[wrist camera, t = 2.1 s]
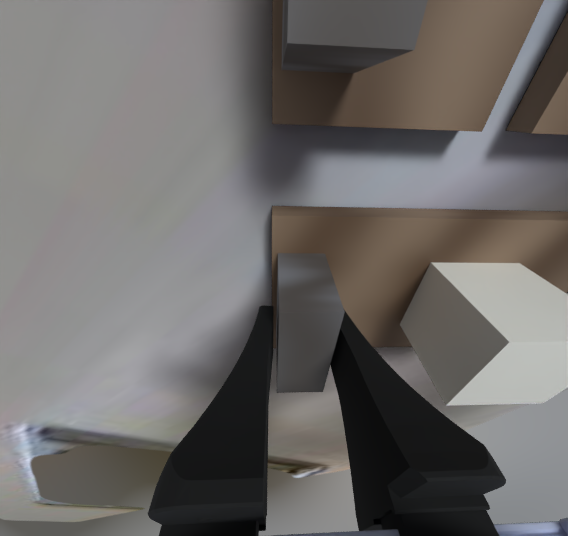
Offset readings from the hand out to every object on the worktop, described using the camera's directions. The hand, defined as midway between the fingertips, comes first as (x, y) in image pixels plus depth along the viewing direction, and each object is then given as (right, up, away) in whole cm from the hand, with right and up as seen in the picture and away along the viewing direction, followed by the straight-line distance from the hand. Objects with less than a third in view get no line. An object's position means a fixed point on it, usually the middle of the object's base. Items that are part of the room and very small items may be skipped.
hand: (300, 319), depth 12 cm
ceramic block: (+9, +1, +2) cm, 10 cm away
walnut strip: (+7, +2, +3) cm, 8 cm away
